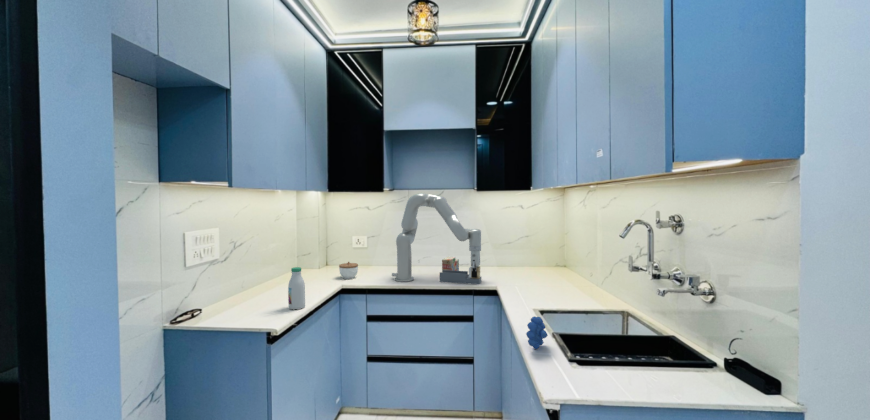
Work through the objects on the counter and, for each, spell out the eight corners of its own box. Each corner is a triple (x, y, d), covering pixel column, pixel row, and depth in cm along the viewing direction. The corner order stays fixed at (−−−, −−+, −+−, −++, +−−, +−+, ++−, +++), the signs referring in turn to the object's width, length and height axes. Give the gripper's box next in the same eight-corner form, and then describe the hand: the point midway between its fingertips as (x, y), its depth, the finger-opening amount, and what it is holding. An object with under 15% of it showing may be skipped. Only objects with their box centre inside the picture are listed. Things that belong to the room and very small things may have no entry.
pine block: (471, 278, 225) (471, 267, 225) (472, 276, 230) (472, 266, 230) (479, 278, 224) (479, 267, 224) (480, 277, 229) (480, 266, 229)
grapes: (539, 357, 120) (540, 322, 120) (521, 351, 125) (522, 318, 124) (554, 346, 129) (554, 314, 128) (537, 341, 133) (537, 310, 133)
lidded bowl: (360, 275, 248) (359, 260, 247) (355, 280, 235) (355, 263, 235) (342, 275, 248) (342, 260, 247) (336, 280, 235) (336, 263, 235)
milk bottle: (307, 305, 180) (306, 266, 179) (301, 310, 172) (301, 269, 171) (292, 305, 180) (291, 266, 179) (285, 310, 172) (285, 269, 171)
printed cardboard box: (450, 271, 263) (450, 254, 263) (459, 271, 261) (459, 255, 261) (442, 277, 243) (441, 259, 243) (450, 277, 241) (450, 259, 241)
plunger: (456, 277, 227) (456, 267, 227) (458, 275, 233) (458, 265, 233) (471, 277, 225) (471, 268, 225) (472, 275, 231) (472, 266, 231)
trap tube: (439, 281, 229) (439, 272, 229) (442, 278, 238) (442, 269, 237) (479, 284, 222) (479, 274, 222) (481, 281, 231) (481, 271, 230)
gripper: (479, 250, 217) (478, 279, 218) (482, 246, 234) (482, 274, 235) (466, 250, 219) (466, 279, 220) (471, 246, 236) (471, 273, 237)
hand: (475, 276), depth 227 cm, fingers closed on pine block, 5 cm apart
